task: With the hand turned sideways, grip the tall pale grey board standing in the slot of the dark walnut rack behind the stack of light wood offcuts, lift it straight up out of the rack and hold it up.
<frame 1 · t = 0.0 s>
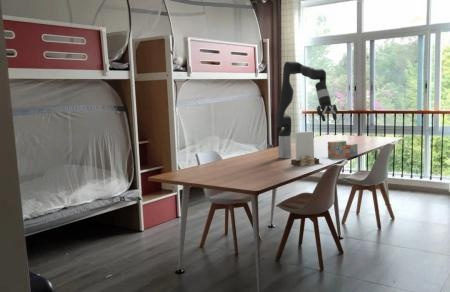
hand: (329, 120, 284), 31 cm above the table, tool tilted 20°, fingers open, 8 cm apart
offcut stack: (307, 165, 296), point 1 cm above the table, touching walnut rack
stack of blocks: (342, 157, 330), on the table
walnut rack: (306, 166, 299), on the table
tall board: (305, 163, 301), point 1 cm above the table, touching walnut rack
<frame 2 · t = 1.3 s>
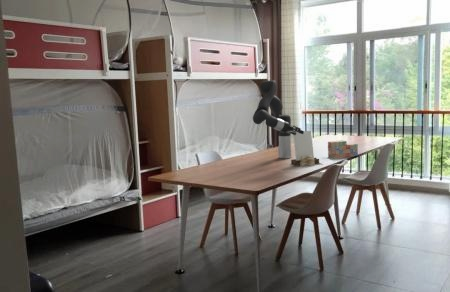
hand: (299, 133, 296), 23 cm above the table, tool tilted 65°, fingers open, 8 cm apart
tall board: (305, 163, 301), point 2 cm above the table, tilted 12°, touching gripper, walnut rack
everything else where it was.
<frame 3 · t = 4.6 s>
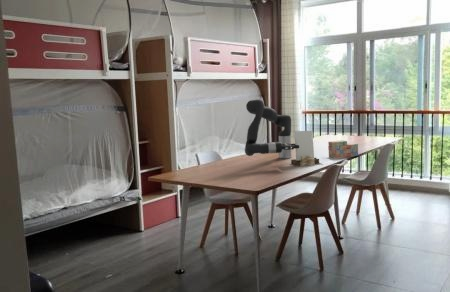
hand: (297, 145, 299), 14 cm above the table, tool horizontal, fingers open, 8 cm apart
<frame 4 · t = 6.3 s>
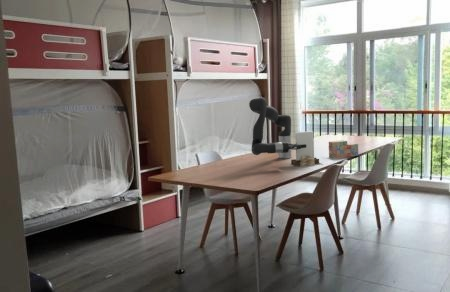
hand: (305, 145, 300), 14 cm above the table, tool horizontal, fingers closed on tall board, 3 cm apart
tall board: (305, 163, 301), point 2 cm above the table, touching gripper, walnut rack
everything else where it was.
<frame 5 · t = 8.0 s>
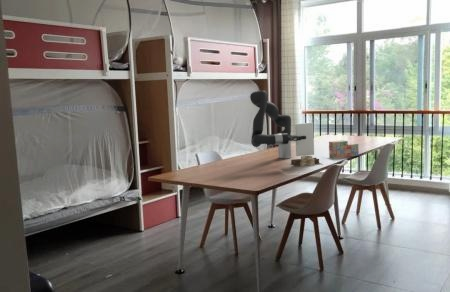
hand: (304, 137, 299), 20 cm above the table, tool horizontal, fingers closed on tall board, 3 cm apart
tall board: (305, 155, 301), point 7 cm above the table, touching gripper
everything else where it was.
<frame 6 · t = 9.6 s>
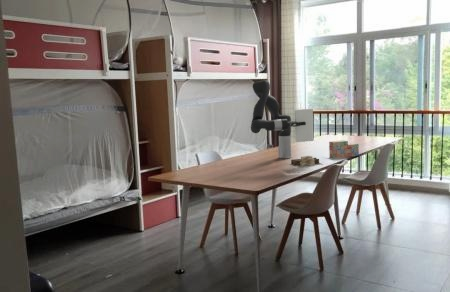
hand: (304, 123, 298), 30 cm above the table, tool horizontal, fingers closed on tall board, 3 cm apart
tall board: (304, 141, 300), point 17 cm above the table, touching gripper
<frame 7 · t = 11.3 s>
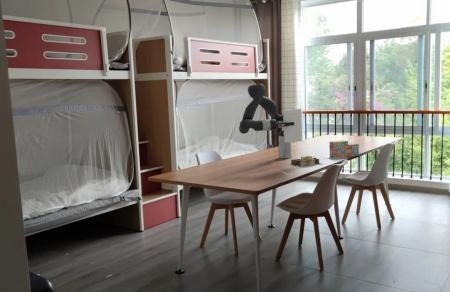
hand: (293, 123, 297), 30 cm above the table, tool horizontal, fingers closed on tall board, 3 cm apart
tall board: (293, 141, 298), point 17 cm above the table, touching gripper
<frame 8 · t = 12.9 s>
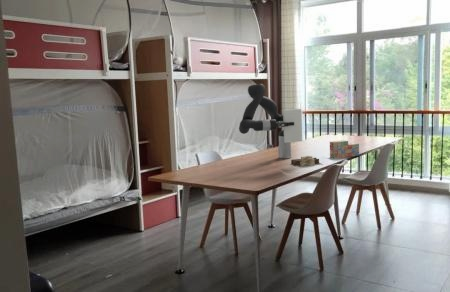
hand: (293, 123, 297), 30 cm above the table, tool horizontal, fingers closed on tall board, 3 cm apart
tall board: (293, 141, 298), point 17 cm above the table, touching gripper
at the end: tall board point 17.4 cm above the table; the gripper is holding tall board; offcut stack moved 0.0 cm from its start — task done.
